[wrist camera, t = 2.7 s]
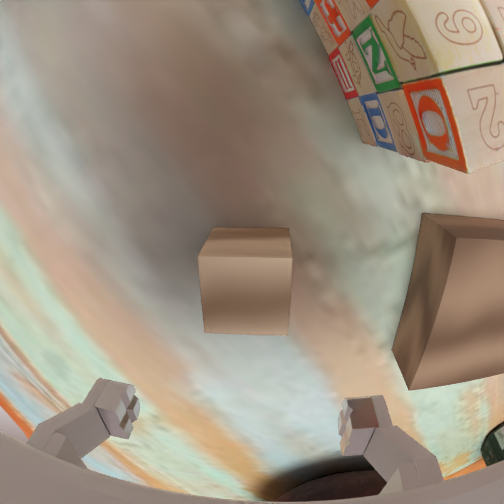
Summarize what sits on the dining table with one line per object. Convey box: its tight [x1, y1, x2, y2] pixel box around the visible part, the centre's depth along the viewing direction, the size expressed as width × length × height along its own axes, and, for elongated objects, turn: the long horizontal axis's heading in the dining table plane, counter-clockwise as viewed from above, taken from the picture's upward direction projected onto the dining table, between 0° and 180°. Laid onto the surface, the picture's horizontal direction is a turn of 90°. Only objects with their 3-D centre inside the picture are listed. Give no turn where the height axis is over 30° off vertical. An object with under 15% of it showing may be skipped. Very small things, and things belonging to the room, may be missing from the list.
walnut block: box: [392, 213, 504, 390], centre depth 20 cm, size 12×12×5 cm
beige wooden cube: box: [198, 227, 293, 335], centre depth 20 cm, size 5×5×5 cm
